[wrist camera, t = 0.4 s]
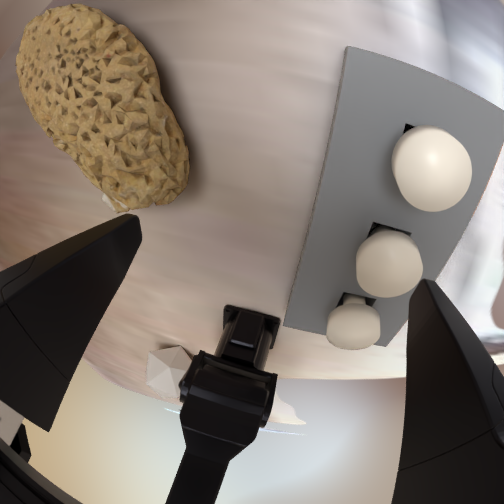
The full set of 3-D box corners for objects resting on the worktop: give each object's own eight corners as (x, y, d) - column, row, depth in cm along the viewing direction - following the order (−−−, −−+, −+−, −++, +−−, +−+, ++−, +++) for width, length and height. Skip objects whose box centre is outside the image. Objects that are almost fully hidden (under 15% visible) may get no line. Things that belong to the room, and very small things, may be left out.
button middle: (398, 264, 20) (404, 302, 18) (347, 251, 21) (347, 289, 18) (421, 219, 18) (434, 255, 15) (365, 202, 18) (370, 238, 15)
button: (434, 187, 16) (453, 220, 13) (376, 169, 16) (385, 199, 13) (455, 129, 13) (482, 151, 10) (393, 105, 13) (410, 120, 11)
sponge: (225, 155, 22) (122, -54, 8) (176, 225, 18) (24, -32, 4) (127, 171, 28) (41, 28, 14) (83, 223, 24) (-24, 68, 10)
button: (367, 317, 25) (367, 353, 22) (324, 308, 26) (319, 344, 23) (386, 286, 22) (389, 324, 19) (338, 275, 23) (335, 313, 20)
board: (386, 324, 28) (387, 347, 26) (288, 302, 29) (282, 325, 27) (493, 106, 12) (514, 117, 10) (345, 47, 14) (348, 45, 11)
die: (148, 329, 44) (131, 381, 42) (167, 350, 37) (147, 408, 35) (191, 342, 49) (173, 389, 47) (216, 361, 41) (195, 414, 40)
